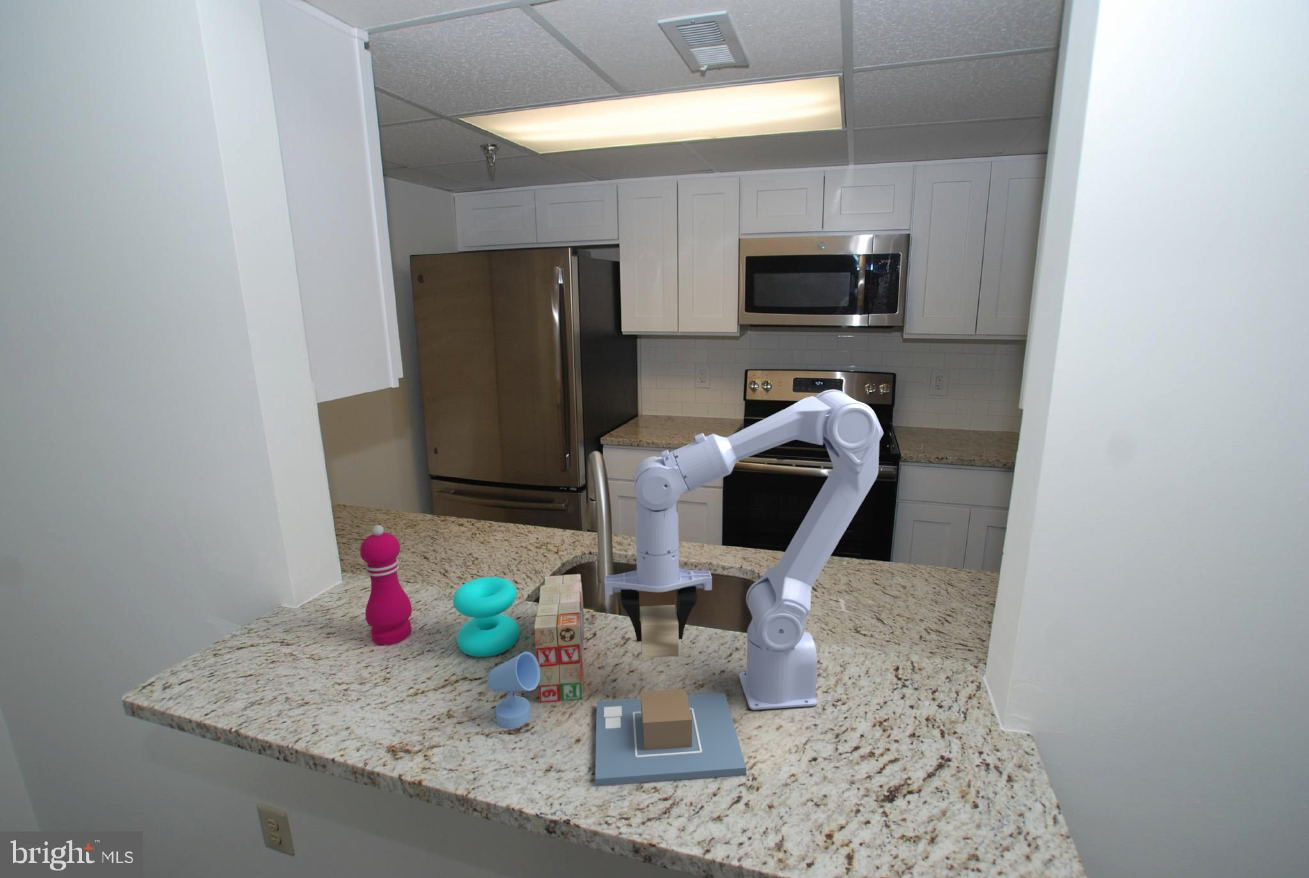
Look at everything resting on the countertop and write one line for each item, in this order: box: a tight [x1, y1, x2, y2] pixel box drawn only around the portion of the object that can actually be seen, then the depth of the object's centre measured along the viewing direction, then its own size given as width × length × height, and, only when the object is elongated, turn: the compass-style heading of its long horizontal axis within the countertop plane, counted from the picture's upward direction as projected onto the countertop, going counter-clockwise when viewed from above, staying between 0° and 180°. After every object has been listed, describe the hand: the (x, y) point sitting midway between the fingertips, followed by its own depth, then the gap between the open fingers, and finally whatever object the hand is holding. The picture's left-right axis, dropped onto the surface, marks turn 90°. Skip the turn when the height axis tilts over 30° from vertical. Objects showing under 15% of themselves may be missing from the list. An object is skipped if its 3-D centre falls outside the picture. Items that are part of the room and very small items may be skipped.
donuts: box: [452, 576, 521, 658], centre depth 102 cm, size 10×10×10 cm
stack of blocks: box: [533, 573, 585, 704], centre depth 97 cm, size 21×6×12 cm, turn 6°
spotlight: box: [487, 651, 540, 729], centre depth 84 cm, size 5×10×7 cm
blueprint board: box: [594, 688, 747, 787], centre depth 80 cm, size 18×14×5 cm
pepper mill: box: [359, 524, 413, 646], centre depth 103 cm, size 7×7×20 cm
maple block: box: [640, 604, 680, 659], centre depth 87 cm, size 5×5×5 cm
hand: (659, 636), depth 87 cm, fingers closed on maple block, 5 cm apart
